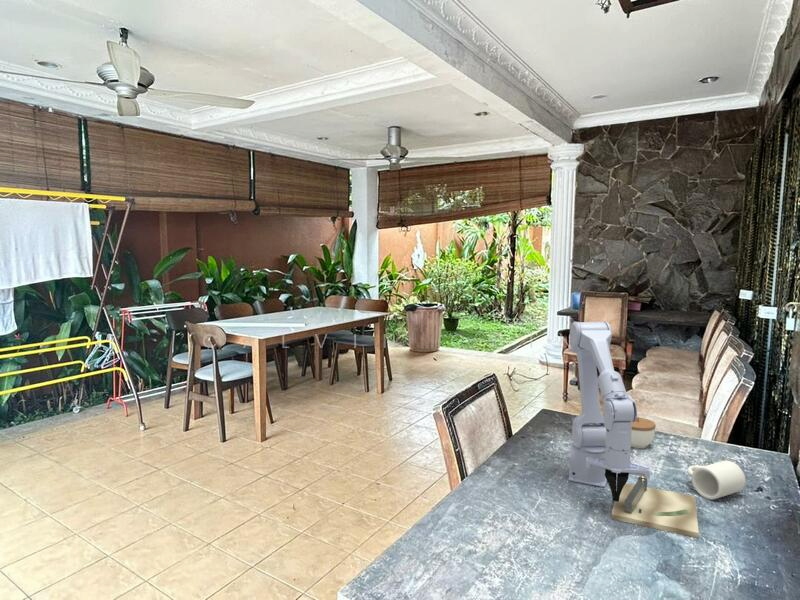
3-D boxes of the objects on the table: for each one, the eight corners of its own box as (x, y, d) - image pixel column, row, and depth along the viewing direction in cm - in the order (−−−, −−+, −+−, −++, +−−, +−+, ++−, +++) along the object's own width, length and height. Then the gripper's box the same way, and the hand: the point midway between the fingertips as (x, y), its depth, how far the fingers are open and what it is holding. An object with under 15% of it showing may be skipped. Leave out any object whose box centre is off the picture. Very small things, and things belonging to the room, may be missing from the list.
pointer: (622, 510, 123) (623, 497, 123) (638, 486, 136) (639, 473, 136) (632, 513, 122) (633, 500, 121) (647, 488, 135) (648, 475, 134)
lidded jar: (658, 444, 168) (660, 416, 167) (648, 454, 160) (650, 425, 159) (624, 436, 175) (625, 409, 174) (613, 445, 167) (614, 417, 166)
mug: (745, 496, 133) (747, 467, 132) (720, 505, 129) (722, 474, 128) (701, 478, 144) (702, 450, 143) (676, 485, 139) (678, 457, 139)
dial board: (611, 518, 122) (611, 513, 122) (617, 485, 139) (618, 481, 139) (698, 538, 114) (698, 532, 114) (694, 500, 131) (694, 495, 131)
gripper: (584, 447, 125) (582, 500, 127) (650, 458, 119) (647, 513, 120) (588, 437, 132) (586, 488, 133) (651, 447, 125) (648, 500, 126)
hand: (616, 499), depth 127 cm, fingers closed
